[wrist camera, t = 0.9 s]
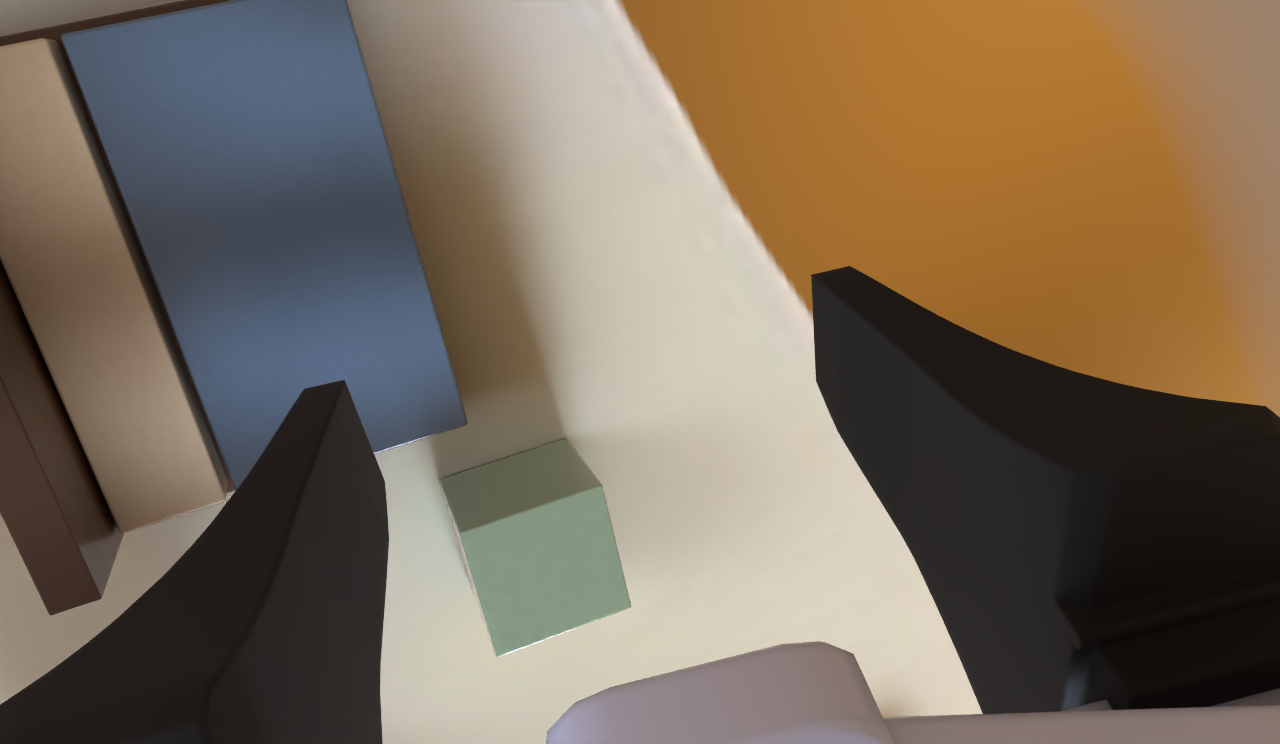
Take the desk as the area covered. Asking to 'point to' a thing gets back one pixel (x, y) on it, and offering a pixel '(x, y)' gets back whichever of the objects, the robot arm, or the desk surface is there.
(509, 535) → the green cube block
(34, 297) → the bed
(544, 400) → the desk surface
